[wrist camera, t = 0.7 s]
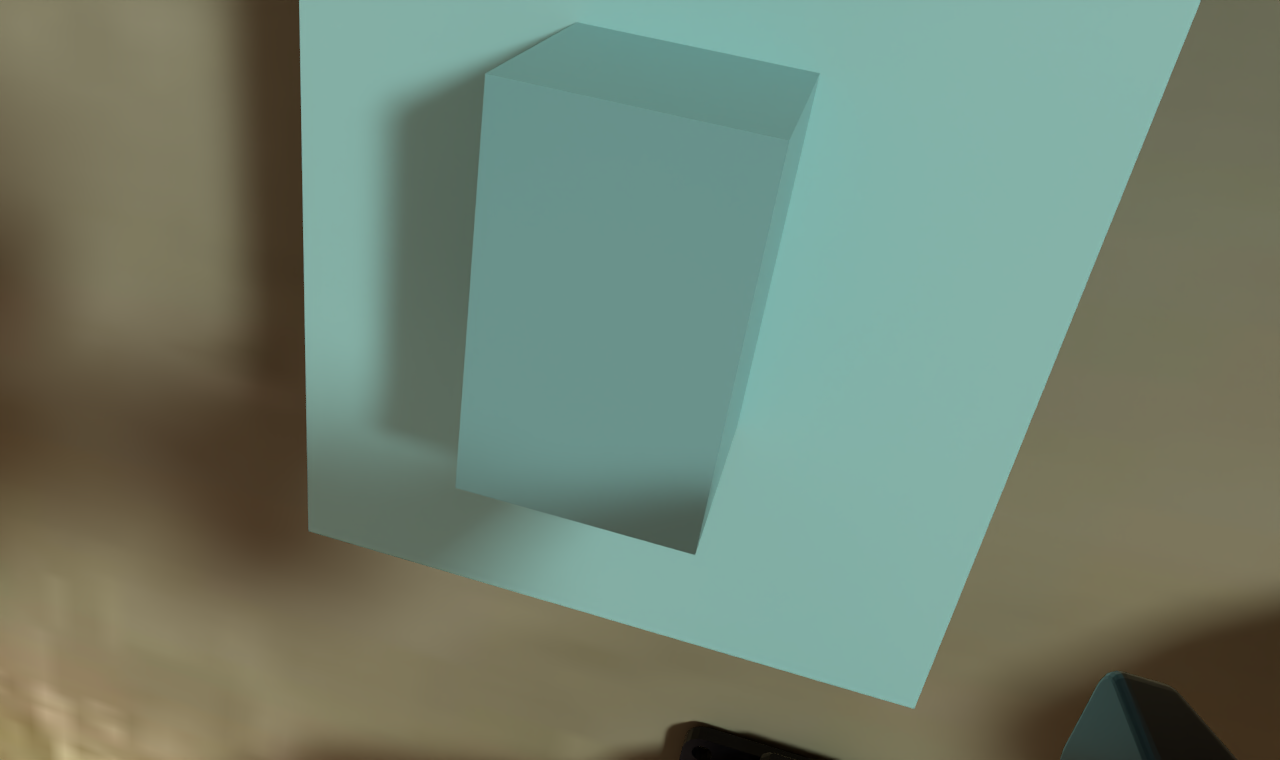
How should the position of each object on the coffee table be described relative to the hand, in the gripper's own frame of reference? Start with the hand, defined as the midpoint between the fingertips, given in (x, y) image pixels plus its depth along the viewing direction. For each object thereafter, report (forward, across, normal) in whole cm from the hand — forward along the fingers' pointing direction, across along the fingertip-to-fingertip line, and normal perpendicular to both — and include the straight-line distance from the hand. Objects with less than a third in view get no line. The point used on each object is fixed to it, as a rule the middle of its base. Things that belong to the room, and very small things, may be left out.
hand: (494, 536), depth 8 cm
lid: (+9, 0, 0) cm, 9 cm away
